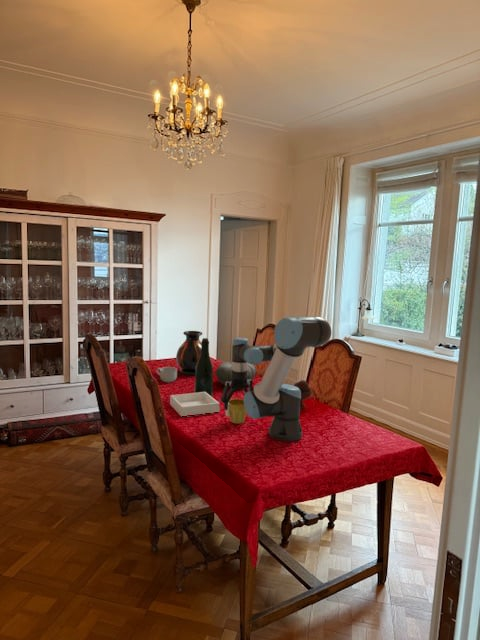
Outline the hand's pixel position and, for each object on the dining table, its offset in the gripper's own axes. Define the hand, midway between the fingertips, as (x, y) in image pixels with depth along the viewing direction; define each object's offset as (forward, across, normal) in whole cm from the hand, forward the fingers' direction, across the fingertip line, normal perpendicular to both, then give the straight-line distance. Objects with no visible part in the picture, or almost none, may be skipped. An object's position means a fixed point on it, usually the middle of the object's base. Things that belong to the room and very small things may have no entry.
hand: (237, 414), depth 214 cm
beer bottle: (+4, 0, -45) cm, 45 cm away
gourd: (+4, -26, -58) cm, 64 cm away
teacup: (+3, +12, -79) cm, 80 cm away
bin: (+4, +13, -25) cm, 29 cm away
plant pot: (+4, 0, 0) cm, 4 cm away
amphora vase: (+3, -10, -93) cm, 94 cm away
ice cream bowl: (+4, -43, -9) cm, 44 cm away
